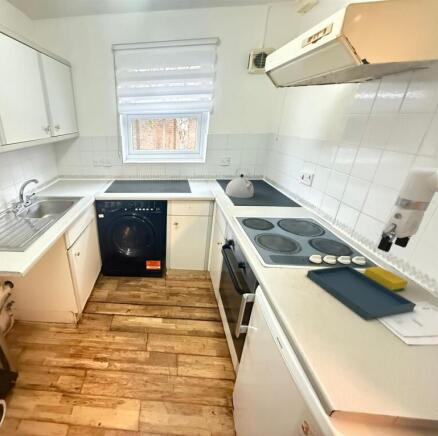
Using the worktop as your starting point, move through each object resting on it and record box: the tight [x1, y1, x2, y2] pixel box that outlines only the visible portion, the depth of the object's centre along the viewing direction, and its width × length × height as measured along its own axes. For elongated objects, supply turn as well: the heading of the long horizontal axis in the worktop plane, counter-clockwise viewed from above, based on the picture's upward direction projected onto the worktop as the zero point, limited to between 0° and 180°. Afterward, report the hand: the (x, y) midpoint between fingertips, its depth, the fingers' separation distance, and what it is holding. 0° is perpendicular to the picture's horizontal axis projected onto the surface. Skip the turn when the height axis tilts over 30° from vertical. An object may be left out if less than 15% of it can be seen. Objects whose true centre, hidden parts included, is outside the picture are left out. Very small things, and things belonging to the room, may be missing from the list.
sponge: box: [363, 265, 409, 292], centre depth 92 cm, size 10×6×4 cm, turn 12°
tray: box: [306, 264, 417, 321], centre depth 88 cm, size 20×24×3 cm
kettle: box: [224, 166, 255, 199], centre depth 198 cm, size 25×23×23 cm
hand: (391, 248), depth 87 cm, fingers open, 9 cm apart
